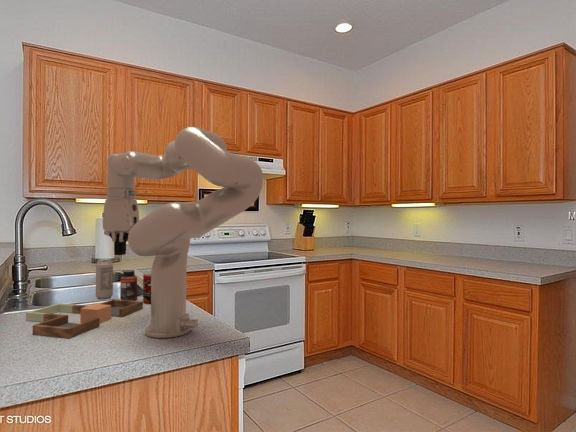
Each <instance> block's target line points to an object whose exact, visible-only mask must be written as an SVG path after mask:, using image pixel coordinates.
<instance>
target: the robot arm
mask: <svg viewBox="0 0 576 432" xmlns="http://www.w3.org/2000/svg"><path fill="white" fill-rule="evenodd" d="M165 147H166V148H165V150H164V154H160V155H154V154H151V153H146V152H140V151H135V150H129V151H124V152H122V153H112V154H111V153H110V154H109V155H108V157H107V172H106V173H107V181H106V183H107V184H106V185H107V186H106V189H107V190H106V191H107V192H106V195H107V196H106V199H105V201H104V205H103V212H102V230H104V232H103V234H104V235H105V236H107V237H110V238H111V240H112V242H114V243H113V244H114V245H113V247H114V248H113V251H114V253H113V255H114V256H124V255H126V254H127V244H128V246H129V249H130V250H131V251H132V252H133V253H134V254H135V255H137V256H140V257H154V260H153V262H152V266H151V271H150V272H151V304H150V324H149V325H147V326H146V327H145V328H144V334H145V335H146V336H147V337H149V338H155V339H156V338H157V339H169V338H176V337H180V336H183V335H186V334H188V333H189V332H190V331H191V332H192V329H197V328H198V325H199V323H198V322H199V321H198V319H194V318H193V319H191V318H190V313H187V270H188V269H187V268H188V267H187V265H188V254H189V249H190V244H191V239H196V238H200V237H203V236H205V235H206V234H207V233H209V232H212V230H215V229H216V228H218V227H219V226H221V225H223V224H225V223H226V222H228V221H229V220H231V219H233V218H235V217H236V216H238V215H240V214H241V213H243V212H245V211H246V210H247V209H249V207H251V206H252V205H253V204H254V203H255V202H256V201H257V199H258V197H259V196H260V194H261V191H262V188H263V184H264V173H263V170H262V168H261V167H260V165H259V163H257V162H256V161H255V160H253V159H251V158H250V157H246V156H244V155H240V154H237V153H234V152H233V153H232V152H229V151H228V148H227V144H226V142H225V140H224V139H223V137H222V136H220V135H218V134H217V133H214V132H212V131H209V130H206V129H204V128H201V127H197V126H189V127H185V128H183V129H181V130H180V131H179V132H178V133H177V136H176V137H175V140H172V141H171V142H168V144H167V145H166V146H165ZM188 170H194V171H195V172H197V173H198V174H199V175H200V176H201V177H202V178H204V179H205V180H206V181H208V183H211V184H212V185H215V186H217V187H220V188H219V189H216V190H214V191H212V192H210V193H209V194H207V195H206V196H204V197H203V198H201V199H199V200H197V201H194V202H193V201H192V202H191V201H190V202H189V201H188V202H187V201H184V202H183V201H174V202H169V203H166V204H162V205H161V206H160V207H158V208H156V209H154V210H153V211H152V212H150V213H148V214H146V215H145V216H144V217H142V218H141V219H140V212H139V205H138V201H137V199H135V196H137V195H138V192H137V191H136V190H135V178H137V179H138V178H139V179H147V180H155V181H156V180H164V179H168V178H173V177H176V176H178V175H180V174H181V173H182V172H184V171H188Z"/></svg>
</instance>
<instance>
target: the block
mask: <svg viewBox="0 0 576 432" xmlns="http://www.w3.org/2000/svg"><path fill="white" fill-rule="evenodd" d="M86 306H87V307H84V308H81V314H79V316H80V319H79V320H80V323H79V324H81V323H83V322H86V321H89V320H91V319H94V318H100V324H102V323H104V322H106V321H109V320H112V316H111V305H104V304H101V303H93V304H91V305H86Z"/></svg>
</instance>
